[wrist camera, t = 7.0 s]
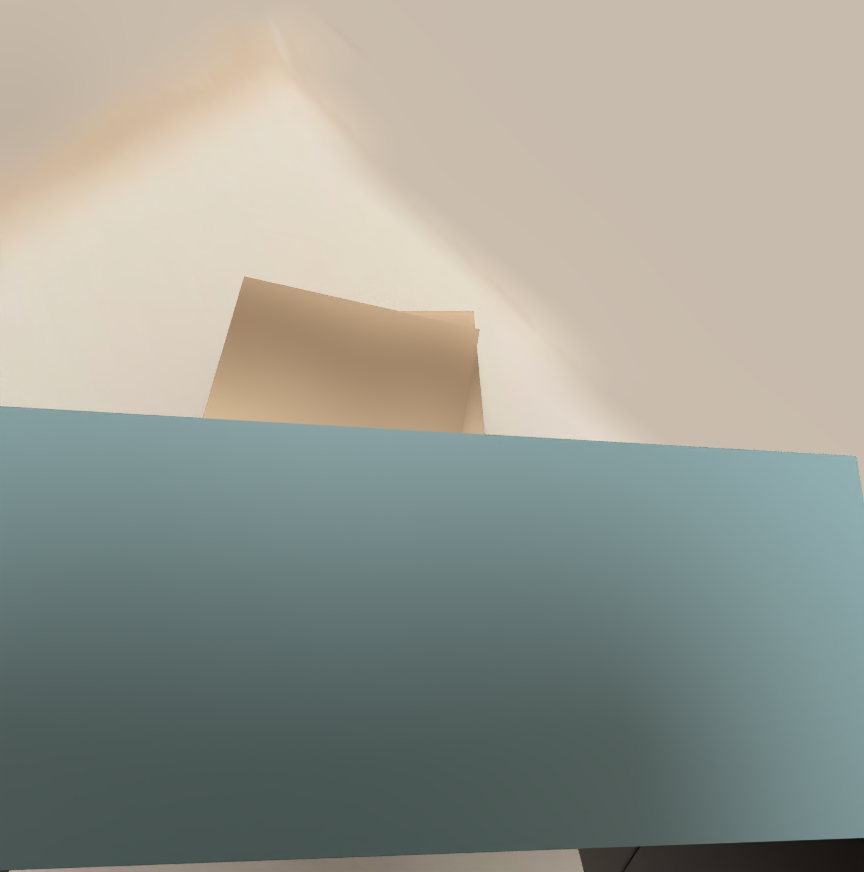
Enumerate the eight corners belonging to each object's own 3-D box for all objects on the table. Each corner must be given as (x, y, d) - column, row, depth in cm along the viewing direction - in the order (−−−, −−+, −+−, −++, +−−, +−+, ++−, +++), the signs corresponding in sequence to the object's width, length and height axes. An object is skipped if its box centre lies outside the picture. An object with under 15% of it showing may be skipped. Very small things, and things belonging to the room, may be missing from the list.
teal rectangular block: (445, 609, 16) (917, 835, 3) (232, 606, 15) (-686, 896, 2) (446, 547, 16) (856, 456, 3) (240, 540, 16) (-459, 379, 2)
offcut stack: (460, 508, 19) (504, 484, 13) (244, 497, 18) (194, 466, 12) (463, 361, 20) (505, 282, 14) (262, 344, 19) (224, 253, 14)
